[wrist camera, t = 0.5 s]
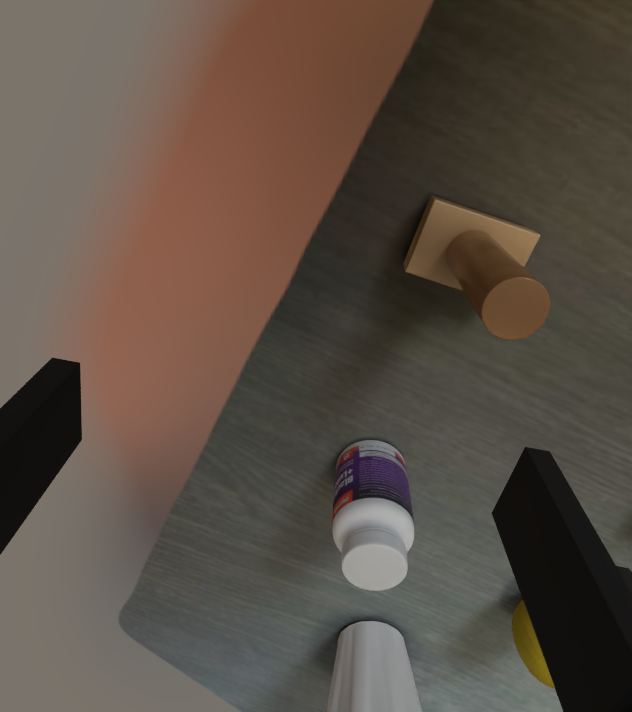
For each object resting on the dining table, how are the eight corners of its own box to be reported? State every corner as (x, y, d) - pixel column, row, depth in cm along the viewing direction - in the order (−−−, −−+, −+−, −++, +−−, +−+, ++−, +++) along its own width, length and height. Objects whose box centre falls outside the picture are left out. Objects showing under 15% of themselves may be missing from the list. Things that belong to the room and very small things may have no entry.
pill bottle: (339, 433, 38) (335, 530, 29) (411, 441, 38) (428, 541, 29) (332, 489, 41) (325, 594, 32) (399, 497, 40) (411, 604, 32)
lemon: (568, 613, 45) (609, 709, 38) (504, 619, 46) (532, 714, 39) (567, 568, 43) (610, 661, 35) (499, 575, 43) (527, 668, 36)
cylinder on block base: (429, 192, 30) (467, 235, 20) (528, 226, 31) (614, 285, 20) (401, 261, 32) (423, 332, 22) (495, 292, 33) (559, 376, 22)
